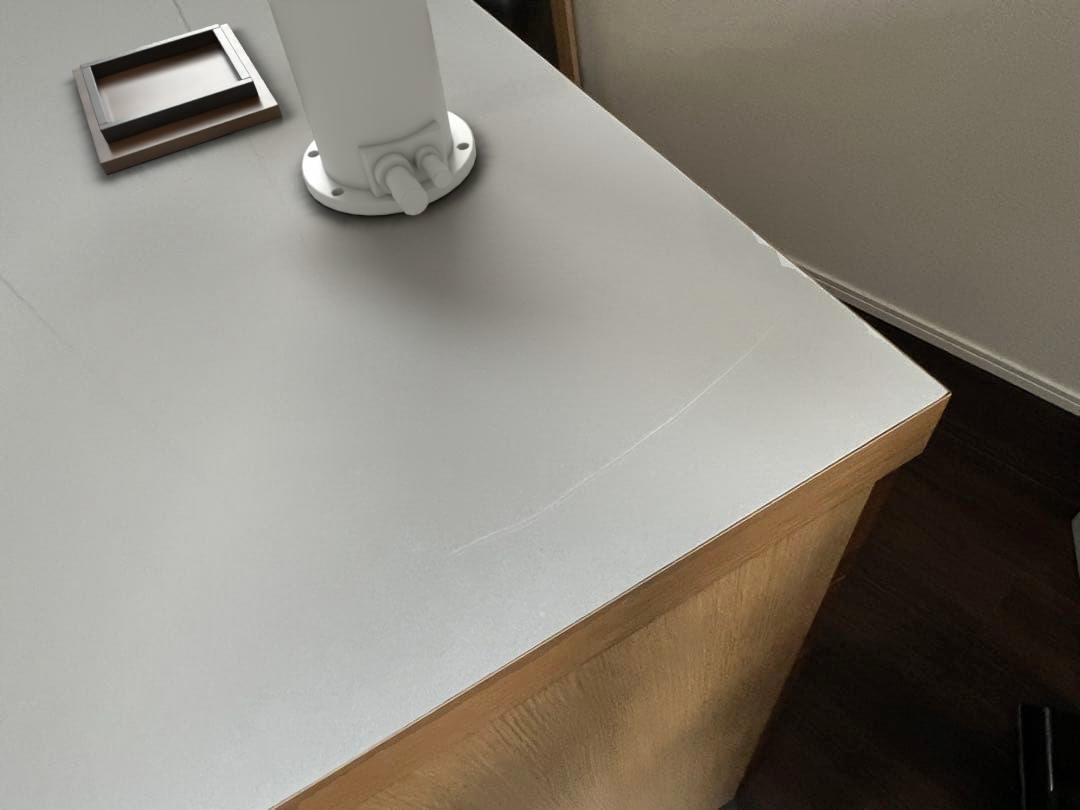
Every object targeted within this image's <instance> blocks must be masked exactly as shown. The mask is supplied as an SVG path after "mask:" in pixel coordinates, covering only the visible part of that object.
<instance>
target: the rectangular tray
mask: <svg viewBox="0 0 1080 810" xmlns="http://www.w3.org/2000/svg"><path fill="white" fill-rule="evenodd" d="M71 71H72V75H73V79H74V83H75V85H76V88H77V91H78V92H77V93H78V95H79V99H80V102H81V105H82V108H83V113H84V116H85V118H86V122H87V125H88V129H89V133H90V135H91V139H92V142H93V145H94V149H95V153H96V156H97V159H98V163H99V165H100V167H101V169H102V171H103V172H104V174H105V175H109V174H112V173H115V172H118V171H121V170H125V169H127V168H130V167H133V166H136V165H139V164H142V163H145V162H148V161H151V160H154V159H156V158H157V159H158V158H160V157H163V156H167V155H169V154H172V153H175V152H178V151H181V150H184V149H188V148H190V147H193V146H196V145H199V144H202V143H206V142H208V141H211V140H214V139H218V138H220V137H223V136H226V135H229V134H232V133H235V132H237V131H241V130H244V129H247V128H250V127H253V126H256V125H259V124H262V123H264V122H268V121H271V120H275V119H277V118H281V117H282V116H283V113H282V110H281V108H280V105H279V103H278V101H277V100H276V99H275V97H274V95H273V93H272V92H271V90H270V89H269V87H268V86H267V84H266V82H265V81H264V79H263V78H262V76H261V74H260V73H259V71H258V69H257V68H256V66H255V65H254V63H253V62H252V60H251V58H250V57H249V55H248V54H247V52H246V50H245V49H244V47H243V46H242V44H241V42H240V40H239V39H238V37H237V36H236V34H235V33H234V31H233V30H232V28H231V26H230V25H229V23H227V22H226V23H224V24H221V25H220V23H215V24H213V25H210V26H206V27H203V28H199V29H196V30H192V31H189V32H186V33H182V34H180V35H176V36H173V37H169V38H165V39H163V40H158V41H156V42H153V43H149V44H146V45H142V46H139V47H136V48H133V49H132V48H131V49H129V50H126V51H123V52H119V53H116V54H111V55H109V56H106V57H103V58H99V59H96V60H95V59H94V60H93V61H89V62H86V63H85V62H84V63H82V64H80V65H79V67H77V68H74V69H72V70H71Z"/></svg>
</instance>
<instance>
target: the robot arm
mask: <svg viewBox="0 0 1080 810" xmlns="http://www.w3.org/2000/svg"><path fill="white" fill-rule="evenodd" d="M267 2H268V6H269V8H270V12H271V14H272V17H273V21H274V24H275V26H276V30H277V33H278V35H279V38H280V41H281V42H280V43H281V45H282V48H283V51H284V53H285V56H286V60H287V62H288V66H289V68H290V71H291V74H292V77H293V80H294V84H295V86H296V89H297V93H298V95H299V99H300V102H301V105H302V107H303V110H304V113H305V116H306V120H307V122H308V125H309V128H310V132H311V134H312V138H313V140H312V141H311V143H310V144H309V145H308V147H307V148H306V150H305V152H304V154H303V156H302V159H301V166H300V167H301V173H302V178H303V180H304V182H305V185H306V188H307V191H308V192H309V194H311V196H312V197H313V198H314V200H316V201H318V202H320V204H322V205H323V206H325V207H328V208H330V209H333V210H334V211H337V212H341V213H345V214H346V213H347V214H350V215H356V216H357V215H358V216H359V215H360V216H386V215H393V214H399V213H405V214H406V215H408V216H416V215H420V214H421V213H423V212H424V211H425V210H427V207H428V205H429V204H431V203H433V202H436V200H439V199H440V198H442V197H445V196H446V195H448V194H449V193H450V192H452V191H453V190H454V189H456V188H457V187H458V186H459V185H460V184H461V183H462V182H463V181H464V180H465V179H466V177H468V175H470V172H471V170H472V169H473V167H474V165H475V161H476V158H477V149H476V141H475V140H476V139H475V137H474V133H473V130H472V129H471V127H470V126H469V124H468V122H466V121H465V120H464V119H462V117H461V116H459V115H457V114H455V113H454V112H452V111H449V110H448V107H447V101H446V96H445V90H444V86H443V81H442V76H441V70H440V69H441V68H440V63H439V59H438V54H437V48H436V42H435V37H434V32H433V27H432V21H431V16H430V10H429V6H428V0H267Z"/></svg>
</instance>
